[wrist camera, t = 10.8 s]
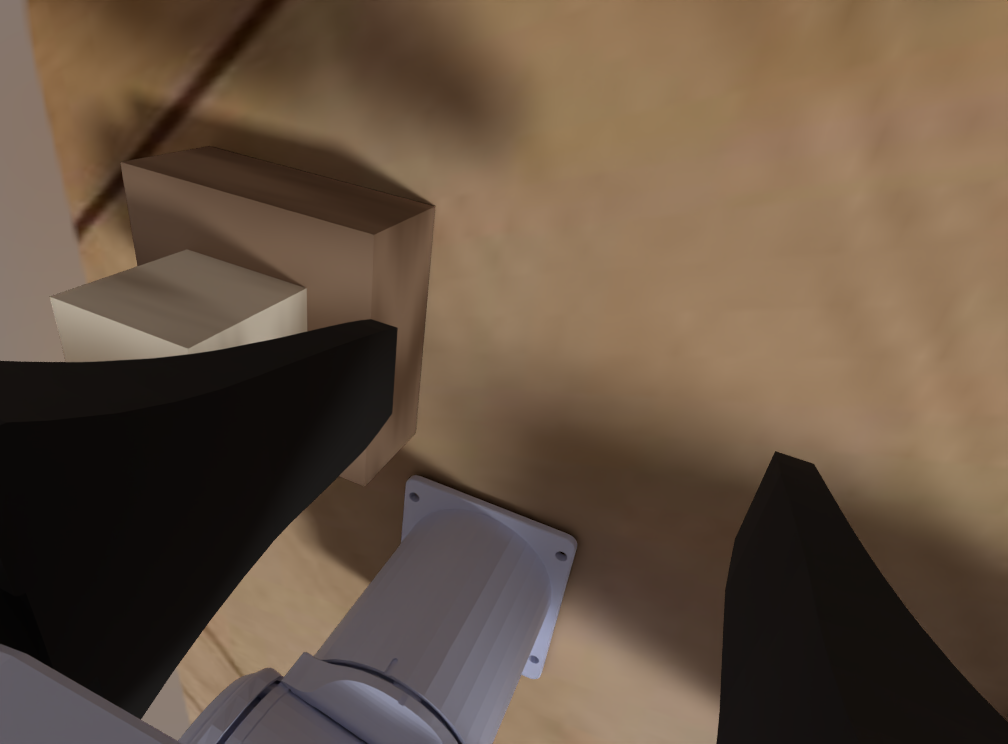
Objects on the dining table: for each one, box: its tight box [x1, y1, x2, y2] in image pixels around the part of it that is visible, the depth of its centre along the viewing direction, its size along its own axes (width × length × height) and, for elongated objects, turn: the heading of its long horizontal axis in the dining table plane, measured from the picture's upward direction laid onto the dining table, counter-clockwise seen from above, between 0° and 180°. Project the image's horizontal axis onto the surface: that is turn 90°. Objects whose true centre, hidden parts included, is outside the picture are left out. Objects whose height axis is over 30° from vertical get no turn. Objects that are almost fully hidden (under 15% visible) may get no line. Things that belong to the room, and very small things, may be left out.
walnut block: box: [120, 146, 435, 487], centre depth 24 cm, size 10×10×4 cm
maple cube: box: [50, 249, 307, 362], centre depth 21 cm, size 5×5×5 cm
